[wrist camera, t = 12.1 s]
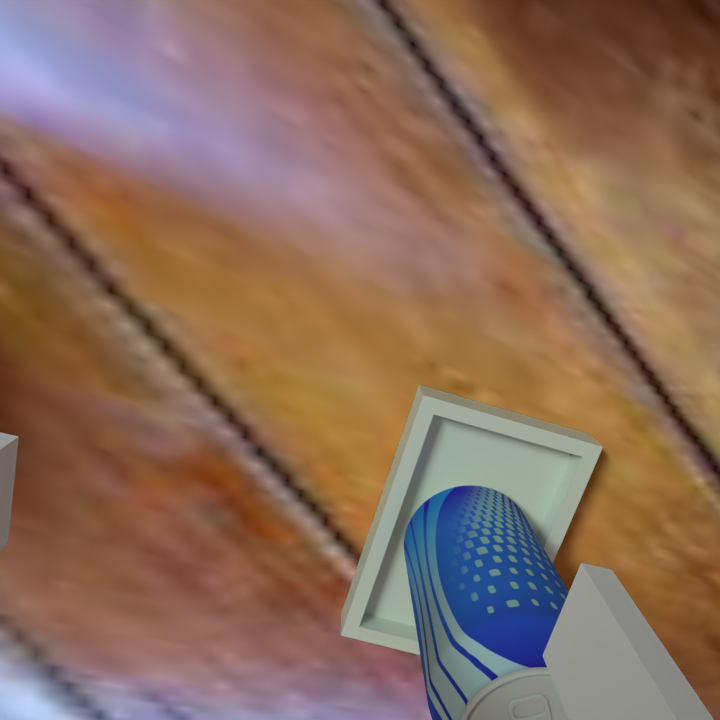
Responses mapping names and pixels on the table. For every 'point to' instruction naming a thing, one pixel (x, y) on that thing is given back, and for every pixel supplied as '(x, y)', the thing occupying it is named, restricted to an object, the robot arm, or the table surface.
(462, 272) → the table surface
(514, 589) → the beer can
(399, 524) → the tray
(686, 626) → the table surface
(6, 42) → the table surface
